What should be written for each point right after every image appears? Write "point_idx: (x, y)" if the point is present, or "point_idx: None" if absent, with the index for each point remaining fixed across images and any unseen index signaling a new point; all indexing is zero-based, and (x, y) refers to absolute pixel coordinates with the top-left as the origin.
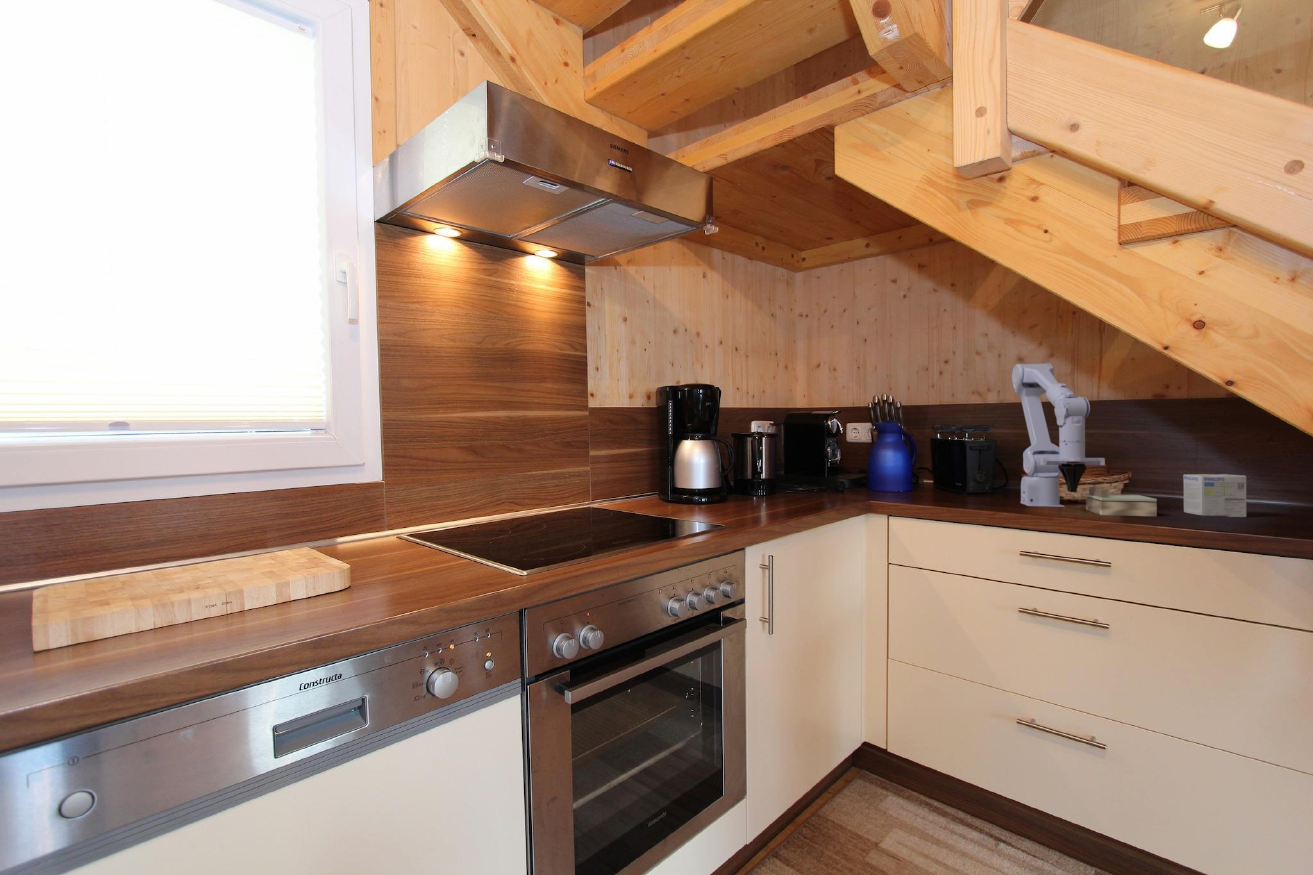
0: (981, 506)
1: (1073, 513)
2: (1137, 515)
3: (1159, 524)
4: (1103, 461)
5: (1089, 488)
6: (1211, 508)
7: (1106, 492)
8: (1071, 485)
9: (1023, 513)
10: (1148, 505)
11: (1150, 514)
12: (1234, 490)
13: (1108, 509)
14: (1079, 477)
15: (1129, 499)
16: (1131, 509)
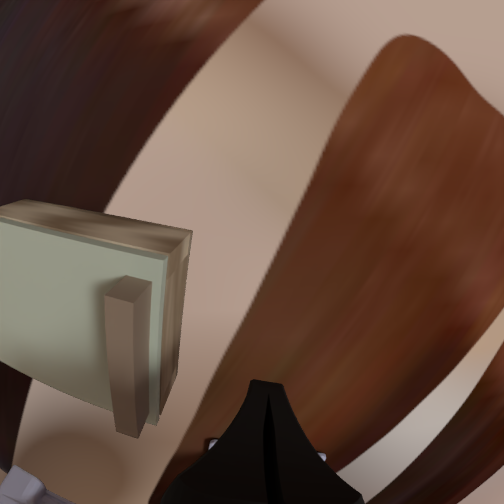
0: (440, 448)
1: (256, 334)
2: (66, 209)
3: (98, 36)
4: (7, 491)
5: (140, 431)
6: None
7: (114, 289)
8: (286, 407)
9: (449, 327)
10: (11, 211)
11: (30, 204)
12: None
13: (153, 235)
14: (232, 441)
15: (46, 231)
16: (69, 217)
